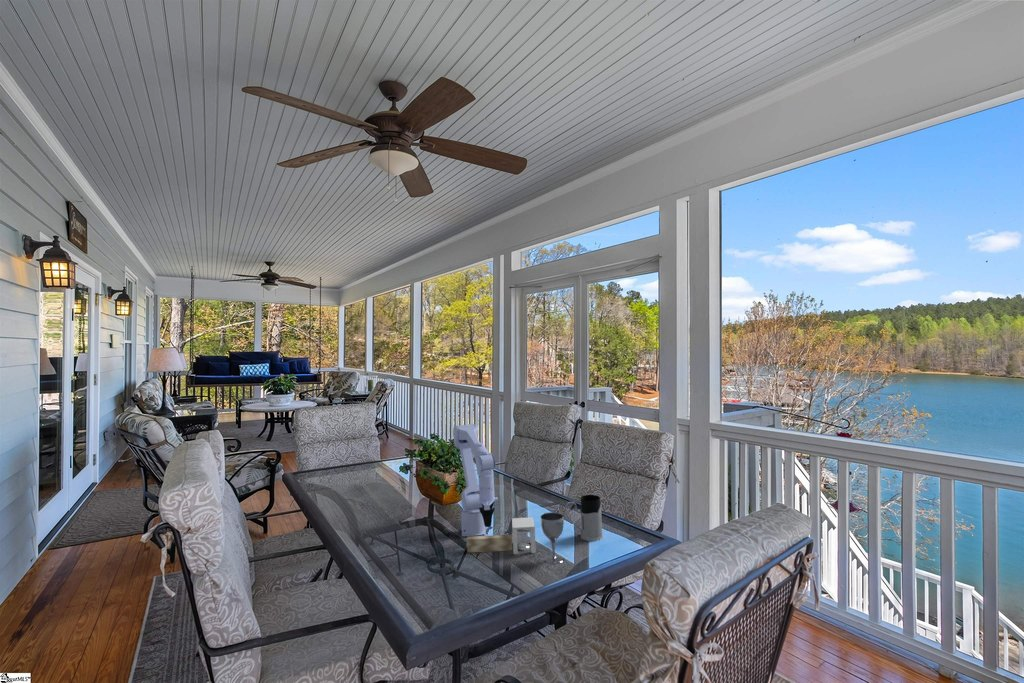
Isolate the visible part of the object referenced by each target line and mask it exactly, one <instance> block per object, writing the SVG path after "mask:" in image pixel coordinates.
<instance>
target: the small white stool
mask: <svg viewBox="0 0 1024 683" xmlns="http://www.w3.org/2000/svg"><path fill="white" fill-rule="evenodd" d="M511 519H512V520H511V521H512V523H511V524H512V525H511V526H512V527H511V528H512V551H513V555H518V553H519V552H518V550H519V549H518V534H525V533H526V534H527V533H529V542H530V544H529V545H530V549H531V550H530V551H531V554H536V553H537V552H536V548H537V547H536V533H535V532H536V530H535V528H536V527H535V521H534V517H513V518H511Z"/></svg>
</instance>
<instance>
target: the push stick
mask: <svg viewBox="0 0 1024 683" xmlns="http://www.w3.org/2000/svg"><path fill="white" fill-rule="evenodd" d="M466 550H467V554H468V553H484V552H486V553H487V552H504V551H506V552H507V551H509V552H510V551H513V534H500V535H499V534H498V535H493V534H492V535H480V536H466Z"/></svg>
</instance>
